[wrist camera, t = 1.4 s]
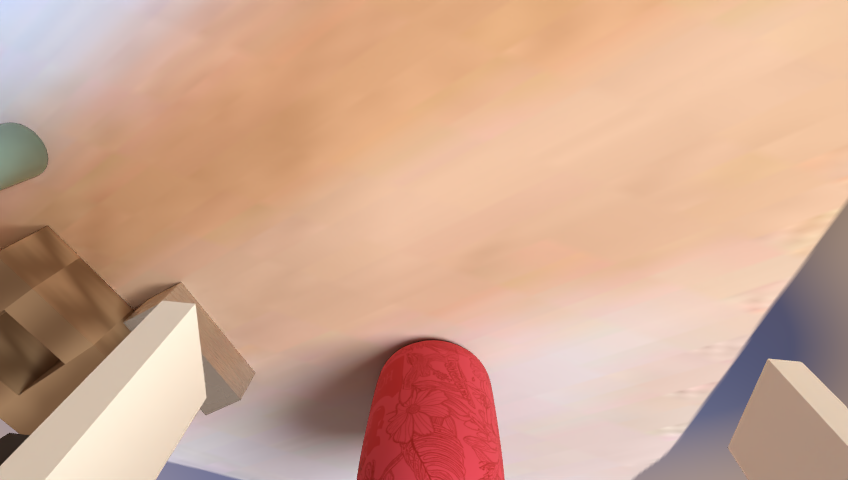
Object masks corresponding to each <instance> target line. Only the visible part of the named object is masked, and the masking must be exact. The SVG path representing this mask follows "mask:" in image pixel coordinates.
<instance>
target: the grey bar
mask: <svg viewBox="0 0 848 480" xmlns="http://www.w3.org/2000/svg"><path fill="white" fill-rule="evenodd" d="M161 301H172V302H182V303H193V304H196V312H197V321H198V329H199V338H200V346H201V355H202V363H203V371H204V380H205V388H206V397H207V398H206V399H205V401H204V402H203V404H202V406H201V407H200V409H201V410H202V411H203V413H204V414H205V415H207V414H210V413H212V412H214V411H216V410H219V409H221V408H223V407H225V406H228V405H230V404H232V403H234V402H237V401H239V400H241V398H242V396H243V395H244V393H245V391H246V389H247V387H248V385H249V384H250V382H251V380H252V378H253V376H254V374H255V372H254V371H253V369H252V368H251V367H250V366H249V364H248V363H247V362H246V361H245V360H244V358H243V357H242V356H241V355H240V353H239V352H238V351H237V350H236V349H235V347H234V346H233V345H232V344H231V342H230V341H229V340H228V339H227V337H226V336H225V335H224V334H223V333H222V331H221V330H220V329H219V328H218V326H217V325H216V324H215V323H214V322H213V320H212V319H211V318H210V317H209V315H208V314H207V313H206V312H205V311H204V309H203V308H202V307H201V306H200V304H199V303H198V302H197V301H196V300H195V298H194V297H193V296H192V295H191V293H190V292H189V291H188V290H187V289H186V287H185V286H184V285H183V284H182V282H180V283H178V284H176V285H174V286H173V287H171V288H169V289H167V290H165V291H163V292H161V293H159V294H157V295H156V296H154V297H152V298H150V299H148V300H147V301H146V302H144V303H143V304H142V305H141V306H140V307H139V308H138V309H137V310H136V311H135V312H134V313H133V314H132V315H131V316H130V317H129V318H127V319H126V320H125V321H124V322H123V323H124V324H125V325H126V327H127V328H128V329H129V330H130V331H131V332H132V331H133V330H134V329H135V328H136V327H137V326H138V325H139V324H140V323H141V322H142V321H143V320H144V319H145V318H146V317H147V316H148V315H149V314H150V313H151V311H152V310H153V309H154V308H155V307H156V306H157V305H158V304H159V303H160V302H161Z"/></svg>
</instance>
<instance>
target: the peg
mask: <svg viewBox="0 0 848 480" xmlns="http://www.w3.org/2000/svg"><path fill="white" fill-rule="evenodd" d="M47 164H48V154H47V150H46V148H45V145H44V144H43V142H42V140H41V139H40V138H39V137H38V136H37V135H36V134H35V133H34V132H33V131H32V130H30V129H29V128H27V127H25V126H23V125H21V124H17V123H5V124H0V190H2V189H5V188H7V187H10V186H13V185H15V184H18V183H20V182H23V181H26V180H28V179H31V178H33V177H36V176H38V175H40V174H41V173H43V172H44V170H45V169H46V167H47Z"/></svg>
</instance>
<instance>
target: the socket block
mask: <svg viewBox="0 0 848 480" xmlns="http://www.w3.org/2000/svg"><path fill="white" fill-rule="evenodd" d="M134 312H135V311H134V310H133V309H132V308H131V307H130V306H129V305H128V304H127V303H126V302H125V301H124V300H123V299H122V298H121V297H120V296H119V295H117V294H116V293H115V292H114V291H113V290H112V289H111V288H110V287H109V286H108V285H107V284H106V283H105V282H104V281H103V280H102V279H101V278H100V277H99V276H98V275H97V274H96V273H95V272H94V271H93V270H92V269H91V268H90V267H89V266H88V265H87V264H86V263H85V262H84V261H83V260H82V259H81V258H80V257H79V256H78V255H77V254H76V253H75V252H74V251H73V250H72V249H71V248H70V247H69V246H68V245H67V244H66V243H65V242H64V241H63V240H62V239H61V238H60V237H59V236H58V235H57V234H56V233H55V232H54V231H53V230H52V229H51V228H50V227H49V226H46V227H44V228H43V229H41V230H39V231H37V232H35V233H33V234H31V235H29V236H27V237H25V238H23V239H21V240H20V241H18V242H16V243H14V244H12V245H10V246H8V247H6V248H4V249H2V250H0V419H2V420H3V421H4V422H6V423H7V424H8V425H9V426H10V427H12V428H13V429H14V430H16V431H17V432H18V433H19V434H24V435H31V434H32V433H33V432H34V431H35V430H36V429H37V428H38V427H39V426H40V425H41V424H42V423H43V422H44V421H45V420H46V419H47V418H48V417H49V416H50V415H51V414H52V413H53V412H54V411H55V410H56V408H57V407H58V406H59V405H60V404H61V403H62V402H63V401H64V400H65V399H66V398H67V397H68V396H69V395H70V394H71V393H72V392H73V391H74V390H75V389H76V388H77V387H78V386H79V385H80V384H81V383H82V382H83V381H84V380H85V379H86V378H87V377H88V376H89V375H90V374H91V373H92V372H93V371H94V370H95V369H96V368H97V367H98V366H99V365H100V364H101V363H102V362H103V361H104V359H105V358H106V357H107V356H108V355H109V354H110V353H111V352H112V351H113V350H114V349H115V348H116V347H117V346H118V345H119V344H120V343H121V342H122V341H123V340H124V339H125V338H126V337H127V336H128V335H129V334H130V333H131V331H130V330H129V329H128V328H127V327H126V325H125V324H124V323H123V322H124V321H125V320H126V319H127V318H129V317H130V316H131V315H132V314H133V313H134Z"/></svg>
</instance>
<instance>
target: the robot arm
mask: <svg viewBox="0 0 848 480" xmlns="http://www.w3.org/2000/svg"><path fill="white" fill-rule="evenodd" d="M206 398H207V397H206V388H205V380H204V371H203V363H202V355H201V346H200V338H199V329H198V321H197V312H196V304H193V303H182V302H172V301H161V302H160V303H159V304H158V305H157V306H156V307H155V308H154V309H153V310H152V311H151V313H150V314H149V315H148V316H147V317H146V318H145V319H144V320H143V321H142V322H141V323H140V324H139V325H138V326H137V327H136V328H135V329H134V330H133V331H132V332H131V333H130V334H129V335H128V336H127V337H126V338H125V339H124V340H123V341H122V342H121V343H120V344H119V345H118V346H117V347H116V348H115V349H114V350H113V351H112V352H111V353H110V354H109V355H108V356H107V357H106V358H105V359H104V361H103V362H102V363H101V364H100V365H99V366H98V367H97V368H96V369H95V370H94V371H93V372H92V373H91V374H90V375H89V376H88V377H87V378H86V379H85V380H84V381H83V382H82V383H81V384H80V385H79V386H78V387H77V388H76V389H75V390H74V391H73V392H72V393H71V394H70V395H69V396H68V397H67V398H66V399H65V400H64V401H63V402H62V403H61V404H60V405H59V406H58V407H57V408H56V410H55V411H54V412H53V413H52V414H51V415H50V416H49V417H48V418H47V419H46V420H45V421H44V422H43V423H42V424H41V425H40V426H39V427H38V428H37V429H36V430H35V431H34V432H33V433H32V434H31V435H24V434H14V433H9V434H7V435H5V436H4V437H2V438H1V439H0V480H155V479H156V478H157V477H158V475H159V473H160V472H161V470H162V468H163V467H164V465H165V464H166V462H167V460H168V459H169V457H170V456H171V454H172V452H173V451H174V449H175V448H176V446H177V444H178V443H179V441H180V439H181V438H182V436H183V435H184V433H185V431H186V430H187V428H188V427H189V425H190V423H191V422H192V420H193V419H194V417H195V415H196V414H197V412H198V410H199V409H200V407H201V406H202V404H203V402H204V401H205V399H206ZM728 449H729V451H730V452H731V454H732V455H733V457H734V459H735V460H736V462H737V463H738V465H739V466H740V468H741V469H742V471H743V473H744V474H745V476H746V477H747V479H748V480H848V408H847V407H846V406H845V405H844V404H843V403H842V402H841V401H840V400H839V399H838V398H837V397H836V396H835V395H834V394H833V393H832V392H831V391H830V390H829V389H828V388H827V387H826V386H825V385H824V384H823V383H822V382H821V381H820V380H819V379H818V378H817V377H816V376H815V375H814V374H813V373H812V372H811V371H810V370H809V369H808V368H807V367H806V366H805V365H804V364H803V363H802V362H797V361H786V360H776V359H768V360H767V362H766V364H765V366H764V368H763V371H762V373H761V375H760V378H759V379H758V382H757V384H756V386H755V388H754V391H753V393H752V395H751V397H750V399H749V402H748V404H747V406H746V408H745V410H744V413H743V415H742V417H741V420H740V422H739V424H738V426H737V428H736V430H735V433H734V435H733V437H732V439H731V442H730V444H729V446H728Z"/></svg>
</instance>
